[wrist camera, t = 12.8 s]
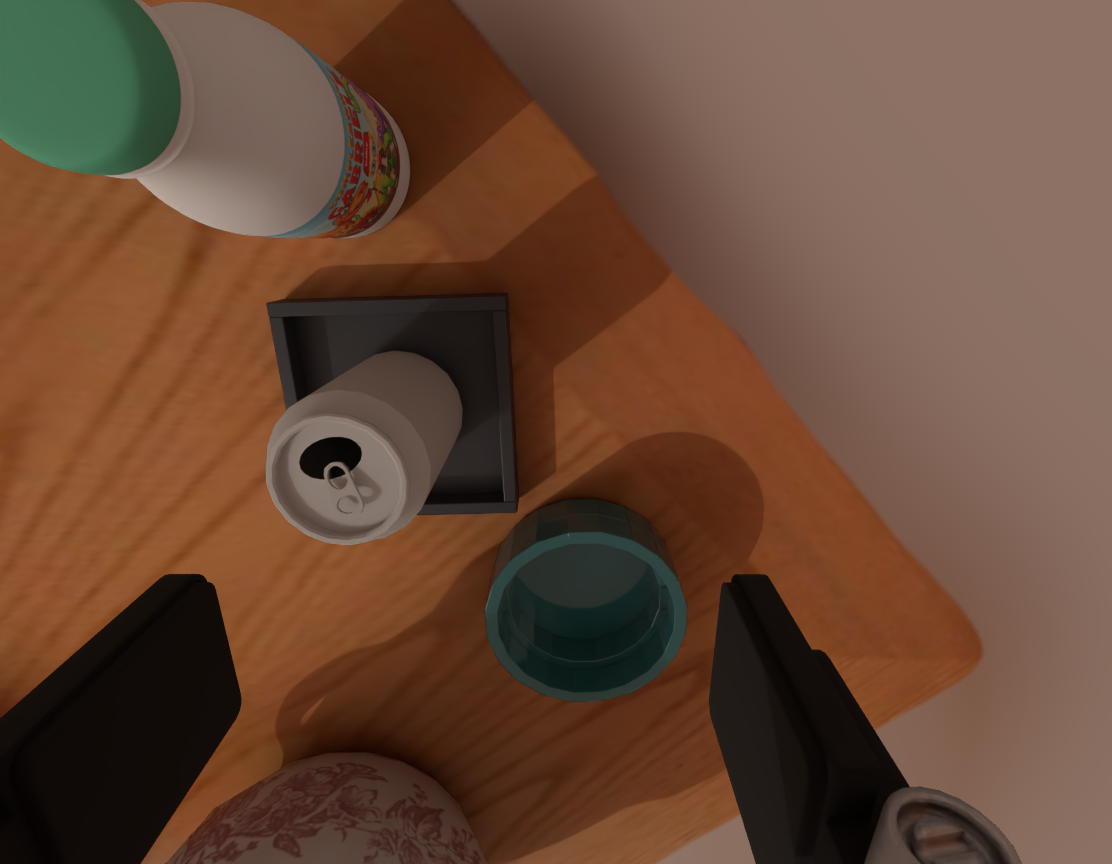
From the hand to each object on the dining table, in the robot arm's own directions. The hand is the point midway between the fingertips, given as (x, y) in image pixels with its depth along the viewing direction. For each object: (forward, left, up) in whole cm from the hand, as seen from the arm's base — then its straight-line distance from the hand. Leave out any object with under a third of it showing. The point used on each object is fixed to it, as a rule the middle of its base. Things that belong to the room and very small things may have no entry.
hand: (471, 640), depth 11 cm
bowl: (+16, +3, -26) cm, 31 cm away
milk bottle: (-11, -10, -27) cm, 31 cm away
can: (+3, -8, -26) cm, 27 cm away
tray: (+3, -8, -26) cm, 28 cm away
